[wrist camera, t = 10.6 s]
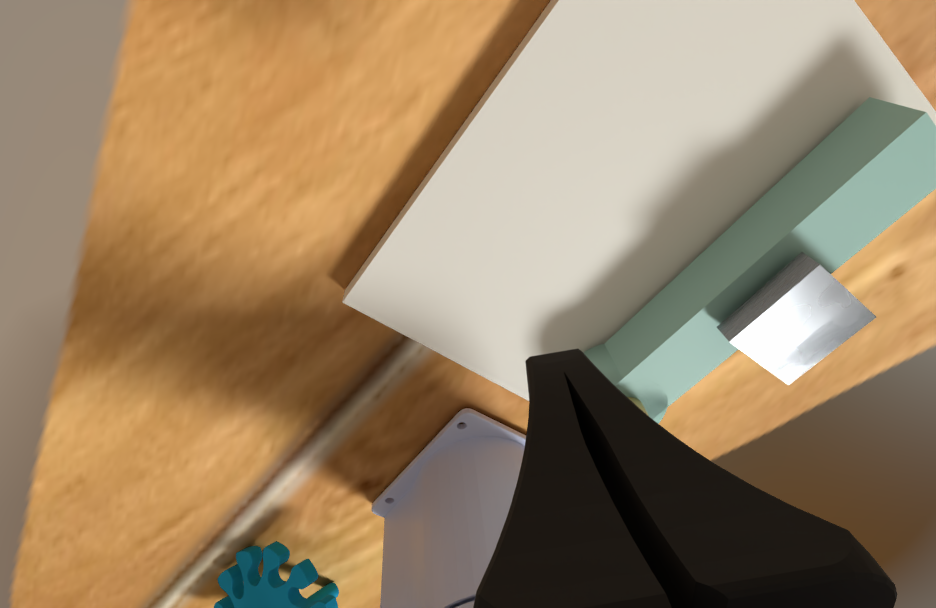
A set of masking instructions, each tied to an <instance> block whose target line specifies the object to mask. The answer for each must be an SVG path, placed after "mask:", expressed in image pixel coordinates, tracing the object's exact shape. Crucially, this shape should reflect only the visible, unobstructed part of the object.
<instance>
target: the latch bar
mask: <svg viewBox="0 0 936 608" xmlns="http://www.w3.org/2000/svg"><path fill="white" fill-rule="evenodd" d="M935 189H936V125H935V124H934V122H933V121H932V120H931V118H930V117H929V115H928V114H927V112H924V111H920V110H917V109H913V108H909V107H905V106H901V105H898V104H894V103H890V102H886V101H882V100H879V99H875V98H871V97H869V98H868V99H867V100H866V101H865V102H864V103H863V104H862V105H861V106H860V107H858V108H857V109H856V110H855V111H854V112H853V113H852V114H851V115H850V116H849V117H848V118H847V119H846V120H844V121H843V122H842V123H841V124H840V125H839V126H838V127H837V128H836V129H835V130H834V131H833V132H832V133H830V134H829V135H828V136H827V137H826V138H825V139H824V140H823V141H822V142H821V143H820V144H819V145H818V146H817V147H815V148H814V149H813V150H812V151H811V152H810V153H809V154H808V155H807V156H806V157H805V158H804V159H803V160H801V161H800V162H799V163H798V164H797V165H796V166H795V167H794V168H793V169H792V170H791V171H790V172H789V173H787V174H786V175H785V176H784V177H783V178H782V179H781V180H780V181H779V182H778V183H777V184H776V185H775V186H773V187H772V188H771V189H770V190H769V191H768V192H767V193H766V194H765V195H764V196H763V197H762V198H761V199H759V200H758V201H757V202H756V203H755V204H754V205H753V206H752V207H751V208H750V209H749V210H748V211H747V212H746V213H744V214H743V215H742V216H741V217H740V218H739V219H738V220H737V221H736V222H735V223H734V224H733V225H732V226H730V227H729V228H728V229H727V230H726V231H725V232H724V233H723V234H722V235H721V236H720V237H719V238H718V239H716V240H715V241H714V242H713V243H712V244H711V245H710V246H709V247H708V248H707V249H706V250H705V251H704V252H702V253H701V254H700V255H699V256H698V257H697V258H696V259H695V260H694V261H693V262H692V263H691V264H690V265H689V266H687V267H686V268H685V269H684V270H683V271H682V272H681V273H680V274H679V275H678V276H677V277H676V278H675V279H673V280H672V281H671V282H670V283H669V284H668V285H667V286H666V287H665V288H664V289H663V290H662V291H661V292H659V293H658V294H657V295H656V296H655V297H654V298H653V299H652V300H651V301H650V302H649V303H648V304H647V305H645V306H644V307H643V308H642V309H641V310H640V311H639V312H638V313H637V314H636V315H635V316H634V317H633V318H631V319H630V320H629V321H628V322H627V323H626V324H625V325H624V326H623V327H622V328H621V329H620V330H619V331H618V332H616V333H615V334H614V335H613V336H612V337H611V338H610V339H609V340H608V341H607V342H606V343H605V344H601V345H598V346H595V347H593V348H590V349H589V350H587V351H585V352H584V354H585V355H586V356H587V357H588V359H589V360H590V361H591V362H592V363H593V364H594V365H595V366H596V367H597V368H598V369H599V370H600V371H601V372H602V373H603V374H604V375H605V376H606V377H607V378H608V379H609V380H610V381H611V382H612V383H613V384H614V385H615V386H616V387H617V388H618V389H619V390H620V391H621V392H622V393H623V394H624V395H625V396H626V397H628V398H629V399H630V400H631V401H632V402H633V403H634V404H635V405H636V406H637V407H639V408H640V409H641V410H642V411H643V412H644V413H646V414H647V415H648V416H649V417H650V418H652V419H653V420H654V421H655V422H657V423H659V422H660V421H661V420H662V418H663V417H664V415H665V412H666V410H667V407H668V406H669V405H671V404H672V403H673V402H674V401H676V400H677V399H678V398H679V397H681V396H682V395H683V394H684V393H685V392H687V391H688V390H689V389H690V388H692V387H693V386H694V385H695V384H696V383H698V382H699V381H700V380H701V379H703V378H704V377H705V376H706V375H708V374H709V373H710V372H711V371H712V370H714V369H715V368H716V367H717V366H719V365H720V364H721V363H722V362H723V361H725V360H726V359H727V358H728V357H730V356H731V355H732V354H733V353H735V352H736V351H737V350H738V348H737V347H735V346H734V345H733V344H731V343H730V342H729V341H728V340H727V339H726V338H725V336H724V335H723V334H722V333H721V332H720V331H719V330H718V328H717V326H718V325H719V324H720V323H722V322H723V321H724V320H725V319H726V318H727V317H728V316H730V315H731V314H732V313H733V312H734V311H735V310H736V309H737V308H739V307H740V306H741V305H742V304H743V303H744V302H745V301H747V300H748V299H749V298H750V297H751V296H752V295H753V294H754V293H756V292H757V291H758V290H759V289H760V288H761V287H762V286H764V285H765V284H766V283H767V282H768V281H769V280H770V279H771V278H773V277H774V276H775V275H776V274H777V273H778V272H779V271H781V270H782V269H783V268H784V267H785V266H786V265H787V264H789V263H790V262H791V261H792V260H793V259H794V258H795V257H796V256H798V255H799V254H800V253H801V252H803V253H804V254H806V255H807V256H809V257H810V258H811V259H813V260H814V261H816V262H817V263H819V264H820V265H821V266H822V267H823V268H824V269H825V270H826V271H828V272H829V273H830V274H831V273H833V272H834V271H835V270H836V269H838V268H839V267H840V266H841V265H842V264H844V263H845V262H846V261H847V260H849V259H850V258H851V257H852V256H854V255H855V254H856V253H857V252H858V251H860V250H861V249H862V248H863V247H865V246H866V245H867V244H868V243H869V242H871V241H872V240H873V239H874V238H876V237H877V236H878V235H879V234H881V233H882V232H883V231H884V230H885V229H887V228H888V227H889V226H890V225H892V224H893V223H894V222H895V221H896V220H898V219H899V218H900V217H901V216H903V215H904V214H905V213H906V212H908V211H909V210H910V209H911V208H912V207H914V206H915V205H916V204H917V203H919V202H920V201H921V200H922V199H923V198H925V197H926V196H927V195H928V194H930V193H931V192H932V191H933V190H935Z"/></svg>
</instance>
